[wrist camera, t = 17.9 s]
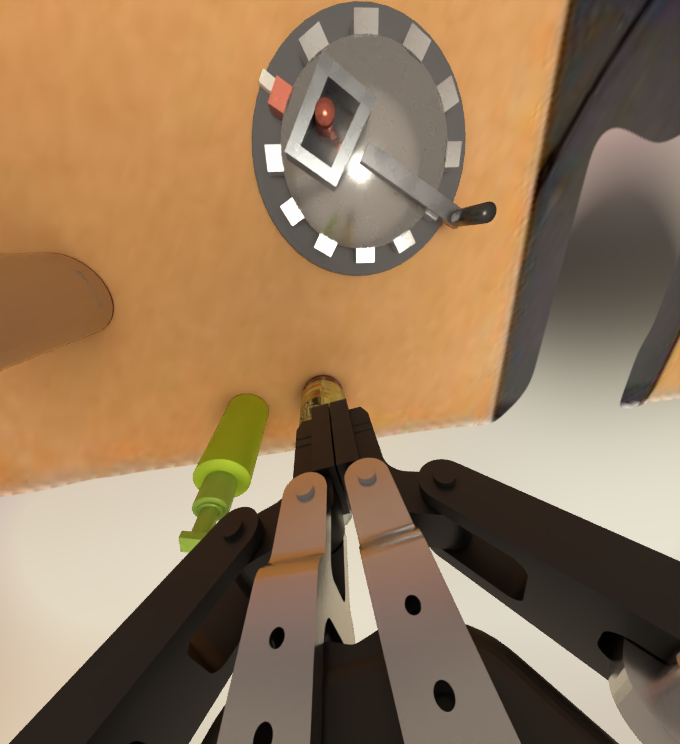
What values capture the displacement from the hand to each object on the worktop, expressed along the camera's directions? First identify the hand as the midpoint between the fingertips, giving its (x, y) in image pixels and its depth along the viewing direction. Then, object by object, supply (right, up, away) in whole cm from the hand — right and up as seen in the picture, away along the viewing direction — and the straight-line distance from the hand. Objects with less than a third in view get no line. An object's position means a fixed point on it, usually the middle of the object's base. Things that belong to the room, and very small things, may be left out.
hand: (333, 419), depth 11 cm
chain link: (-1, +24, +13) cm, 27 cm away
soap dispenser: (-13, -4, +29) cm, 32 cm away
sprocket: (+4, +23, +16) cm, 28 cm away
